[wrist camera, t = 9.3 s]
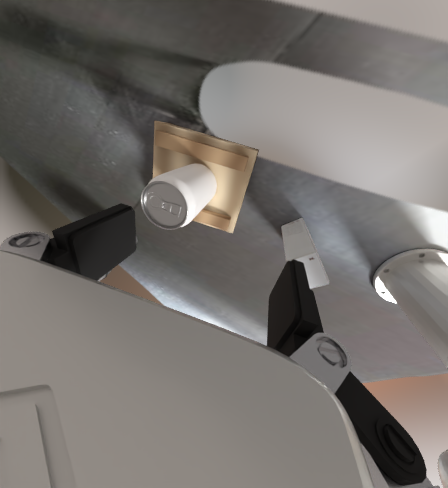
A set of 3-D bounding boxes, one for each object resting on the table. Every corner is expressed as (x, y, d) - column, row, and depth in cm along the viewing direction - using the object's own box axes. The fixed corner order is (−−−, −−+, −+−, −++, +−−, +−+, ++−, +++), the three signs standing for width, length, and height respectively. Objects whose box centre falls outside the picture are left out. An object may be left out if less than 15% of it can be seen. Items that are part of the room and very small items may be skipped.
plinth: (258, 149, 30) (257, 152, 25) (235, 224, 37) (230, 237, 32) (167, 122, 30) (148, 119, 26) (162, 201, 38) (147, 209, 33)
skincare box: (280, 226, 35) (284, 261, 25) (302, 216, 34) (317, 250, 23) (292, 250, 37) (301, 292, 27) (313, 242, 36) (332, 284, 25)
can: (184, 156, 29) (138, 167, 19) (222, 171, 29) (197, 190, 19) (177, 194, 32) (135, 221, 22) (211, 208, 32) (184, 241, 22)
